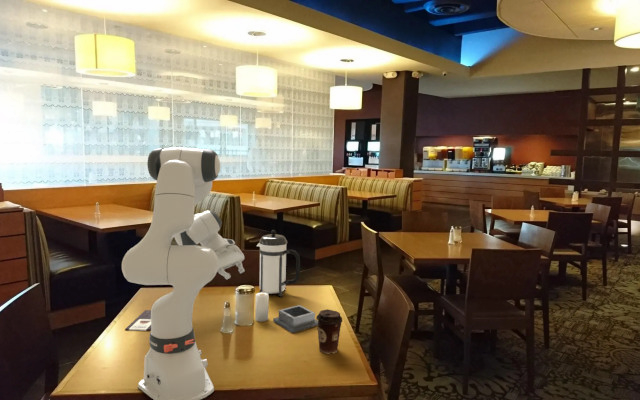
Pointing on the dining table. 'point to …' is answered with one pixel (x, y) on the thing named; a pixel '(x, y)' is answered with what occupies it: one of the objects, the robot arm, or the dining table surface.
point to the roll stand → (296, 318)
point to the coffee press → (275, 264)
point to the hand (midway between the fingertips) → (236, 275)
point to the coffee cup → (328, 330)
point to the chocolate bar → (141, 322)
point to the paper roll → (261, 307)
